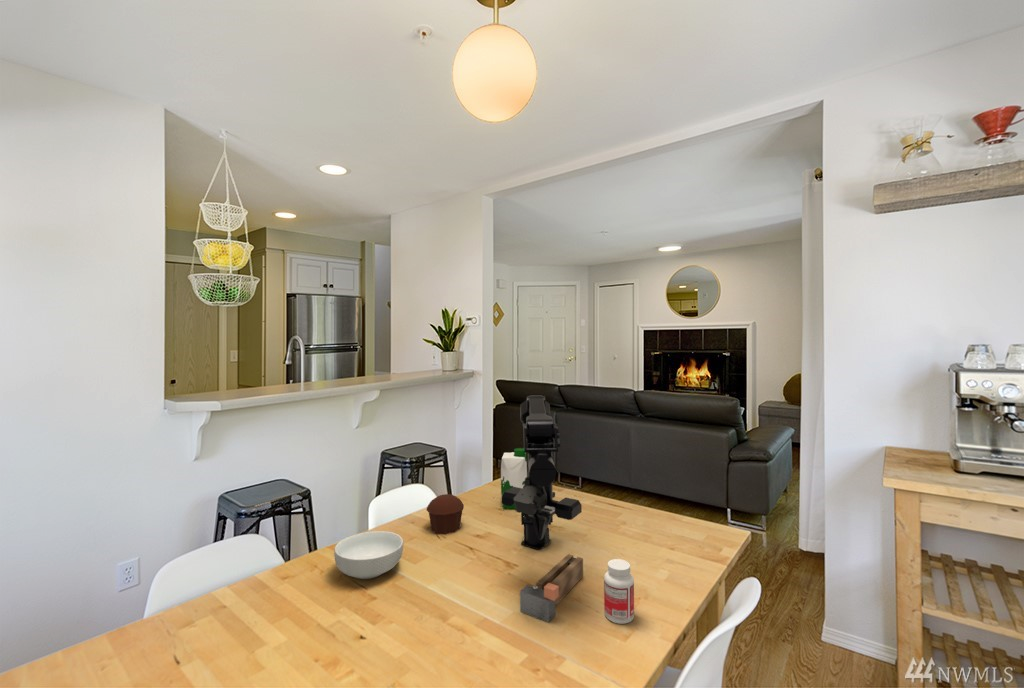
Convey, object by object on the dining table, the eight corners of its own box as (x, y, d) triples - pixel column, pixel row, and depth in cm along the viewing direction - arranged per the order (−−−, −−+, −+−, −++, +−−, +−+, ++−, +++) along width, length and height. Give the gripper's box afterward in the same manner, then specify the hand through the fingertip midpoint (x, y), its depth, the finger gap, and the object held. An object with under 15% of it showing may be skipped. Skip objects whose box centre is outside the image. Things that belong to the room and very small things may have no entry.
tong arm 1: (544, 605, 100) (543, 585, 100) (536, 602, 101) (536, 582, 101) (575, 573, 113) (575, 556, 113) (568, 571, 114) (568, 553, 114)
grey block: (520, 611, 98) (519, 590, 98) (528, 603, 101) (528, 583, 101) (548, 622, 94) (548, 600, 94) (556, 613, 97) (556, 592, 97)
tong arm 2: (552, 608, 99) (552, 588, 99) (544, 606, 100) (544, 585, 100) (583, 576, 112) (582, 558, 112) (575, 573, 113) (575, 556, 113)
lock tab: (544, 597, 95) (543, 587, 95) (548, 592, 97) (548, 582, 97) (554, 600, 94) (554, 590, 94) (558, 596, 96) (558, 585, 96)
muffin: (449, 517, 150) (449, 487, 149) (471, 527, 142) (471, 495, 142) (419, 529, 141) (418, 497, 141) (441, 539, 133) (440, 506, 133)
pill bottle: (621, 604, 100) (621, 554, 100) (640, 619, 95) (640, 567, 95) (598, 612, 98) (598, 560, 98) (616, 628, 92) (616, 574, 92)
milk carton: (526, 511, 155) (525, 452, 155) (499, 510, 156) (499, 452, 156) (527, 501, 164) (527, 446, 163) (502, 501, 165) (502, 446, 164)
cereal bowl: (416, 570, 116) (416, 542, 116) (355, 597, 104) (355, 567, 104) (381, 549, 128) (380, 524, 128) (322, 572, 116) (322, 544, 115)
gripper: (487, 474, 105) (488, 542, 105) (560, 489, 95) (560, 563, 95) (513, 463, 114) (514, 525, 114) (582, 475, 104) (582, 543, 104)
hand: (540, 538), depth 107 cm, fingers closed
